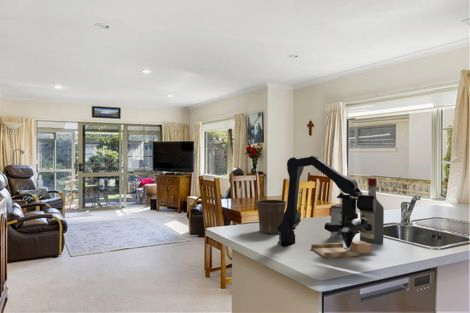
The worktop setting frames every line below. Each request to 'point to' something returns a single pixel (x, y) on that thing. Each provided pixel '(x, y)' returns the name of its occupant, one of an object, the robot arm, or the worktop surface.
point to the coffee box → (336, 219)
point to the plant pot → (270, 215)
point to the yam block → (360, 246)
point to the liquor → (373, 218)
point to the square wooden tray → (333, 251)
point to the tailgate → (362, 253)
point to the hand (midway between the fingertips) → (347, 247)
